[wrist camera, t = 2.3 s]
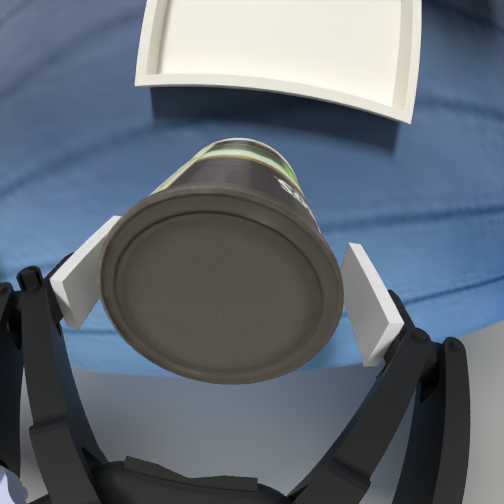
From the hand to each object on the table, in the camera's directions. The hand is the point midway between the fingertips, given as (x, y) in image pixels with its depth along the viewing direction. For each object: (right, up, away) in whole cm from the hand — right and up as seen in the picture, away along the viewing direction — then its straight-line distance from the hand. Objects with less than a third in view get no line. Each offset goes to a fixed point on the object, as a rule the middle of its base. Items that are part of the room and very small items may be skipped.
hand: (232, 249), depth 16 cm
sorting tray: (+4, +20, -2) cm, 21 cm away
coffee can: (0, +4, +7) cm, 9 cm away
